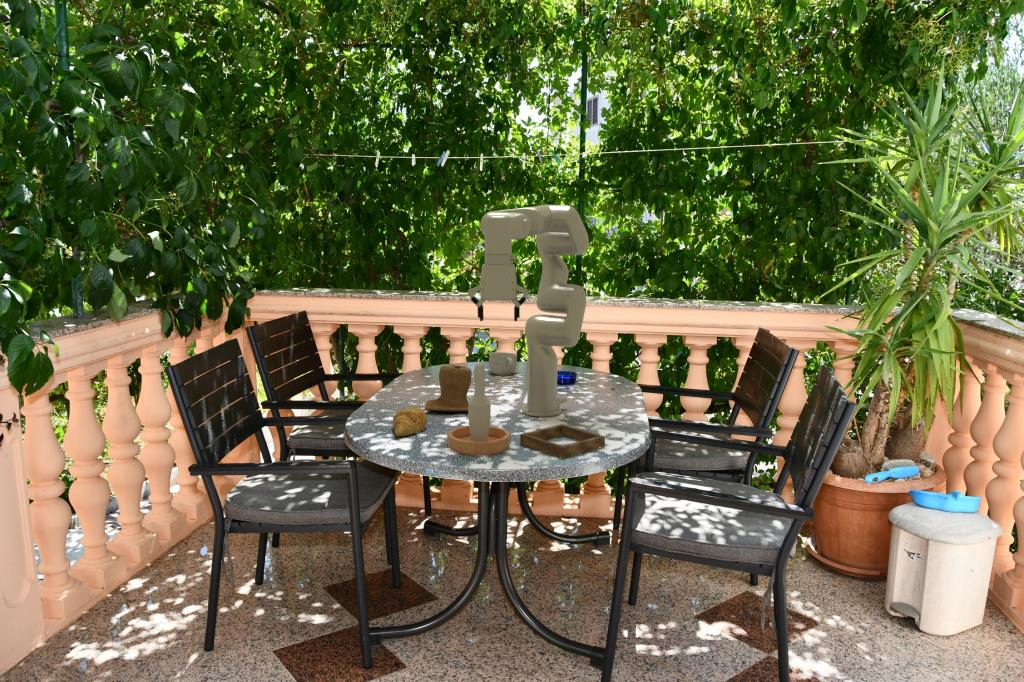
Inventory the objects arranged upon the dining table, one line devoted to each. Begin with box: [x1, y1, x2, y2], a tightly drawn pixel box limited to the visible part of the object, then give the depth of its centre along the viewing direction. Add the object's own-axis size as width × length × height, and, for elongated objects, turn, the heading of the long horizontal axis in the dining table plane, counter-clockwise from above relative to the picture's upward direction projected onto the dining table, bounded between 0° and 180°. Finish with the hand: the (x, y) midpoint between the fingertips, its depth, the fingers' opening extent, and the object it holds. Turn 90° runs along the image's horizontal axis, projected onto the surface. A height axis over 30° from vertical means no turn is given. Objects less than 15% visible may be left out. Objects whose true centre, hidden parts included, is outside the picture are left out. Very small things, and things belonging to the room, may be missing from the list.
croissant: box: [392, 406, 427, 437], centre depth 258 cm, size 21×10×8 cm, turn 169°
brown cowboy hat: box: [424, 364, 472, 413], centre depth 280 cm, size 15×12×15 cm
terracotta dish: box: [446, 425, 512, 456], centre depth 243 cm, size 17×17×4 cm
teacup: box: [488, 351, 518, 376], centre depth 334 cm, size 14×11×8 cm
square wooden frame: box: [519, 423, 606, 459], centre depth 244 cm, size 17×17×3 cm
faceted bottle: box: [467, 363, 492, 442], centre depth 241 cm, size 6×6×22 cm
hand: (498, 320), depth 245 cm, fingers open, 9 cm apart
